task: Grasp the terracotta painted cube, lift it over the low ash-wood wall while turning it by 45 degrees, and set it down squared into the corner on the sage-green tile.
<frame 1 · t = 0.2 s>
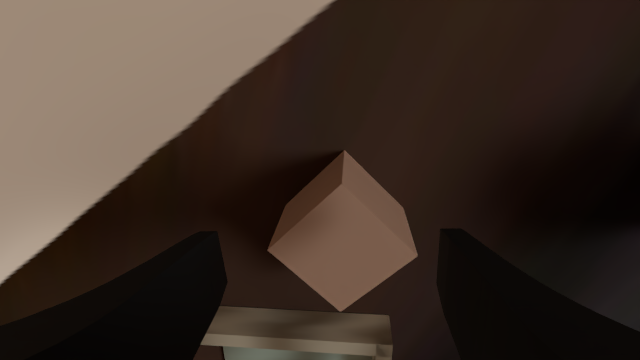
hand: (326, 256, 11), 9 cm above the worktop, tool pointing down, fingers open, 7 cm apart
terracotta cube: (343, 205, 21), on the worktop
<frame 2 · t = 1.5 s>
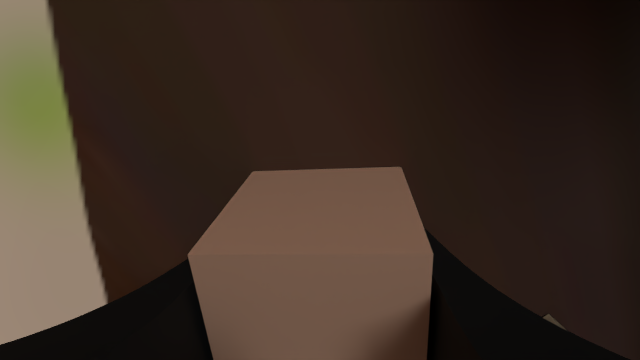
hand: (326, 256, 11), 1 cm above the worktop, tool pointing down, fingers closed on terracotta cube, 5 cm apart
terracotta cube: (329, 233, 12), on the worktop, touching gripper
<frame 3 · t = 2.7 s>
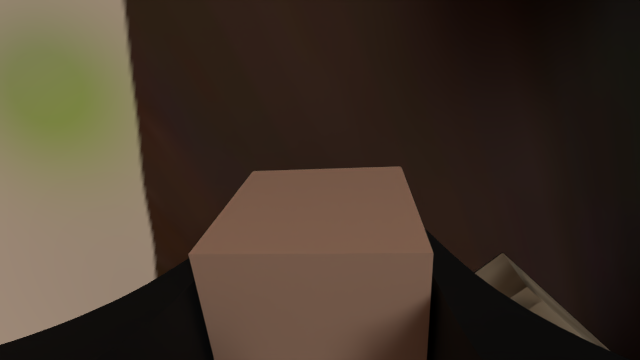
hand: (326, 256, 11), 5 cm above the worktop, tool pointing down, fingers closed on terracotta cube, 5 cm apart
terracotta cube: (329, 233, 12), point 4 cm above the worktop, touching gripper
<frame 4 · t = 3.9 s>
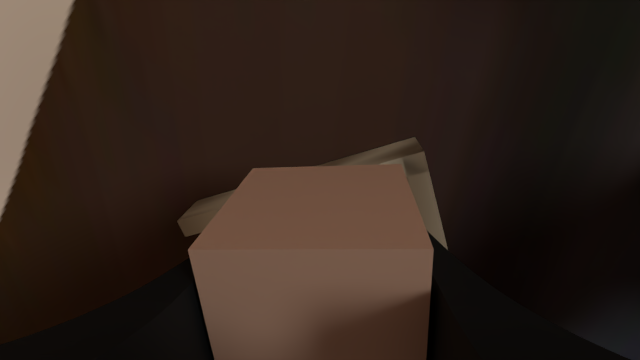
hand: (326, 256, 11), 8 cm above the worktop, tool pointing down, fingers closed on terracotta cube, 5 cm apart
terracotta cube: (329, 231, 12), point 7 cm above the worktop, touching gripper
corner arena: (339, 256, 21), on the worktop
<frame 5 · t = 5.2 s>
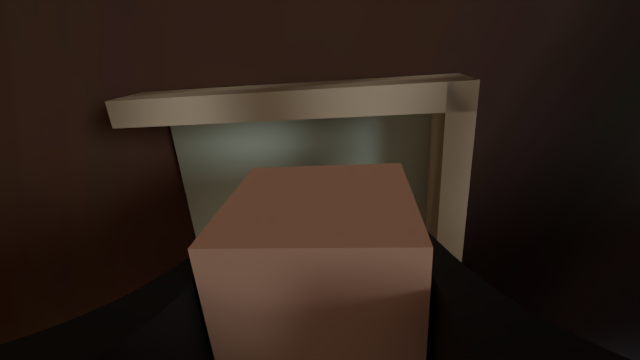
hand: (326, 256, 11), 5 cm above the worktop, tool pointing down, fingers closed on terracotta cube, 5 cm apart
terracotta cube: (329, 230, 12), point 3 cm above the worktop, touching gripper
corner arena: (315, 213, 16), on the worktop
when the fingers open (3 cm above the worktop, at t = 6.1 s): terracotta cube drops 2 cm, resting on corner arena.
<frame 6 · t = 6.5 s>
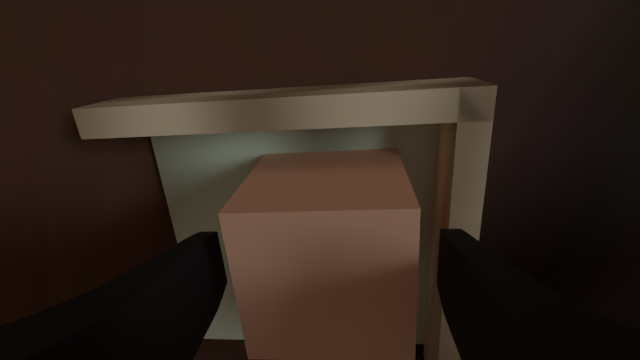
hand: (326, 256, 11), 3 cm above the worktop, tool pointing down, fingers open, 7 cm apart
terracotta cube: (333, 210, 14), resting on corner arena
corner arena: (311, 230, 15), on the worktop
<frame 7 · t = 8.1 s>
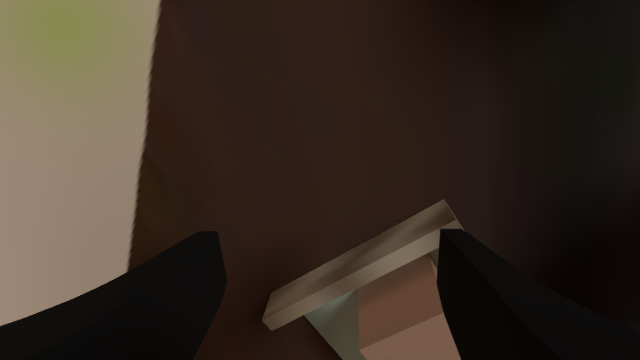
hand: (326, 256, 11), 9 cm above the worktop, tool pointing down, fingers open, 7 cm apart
terracotta cube: (412, 296, 22), resting on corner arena
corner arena: (406, 311, 23), on the worktop
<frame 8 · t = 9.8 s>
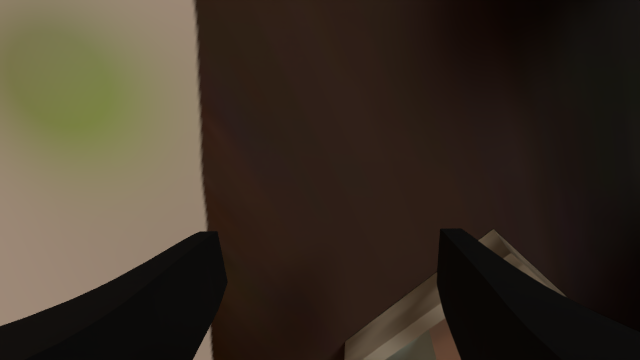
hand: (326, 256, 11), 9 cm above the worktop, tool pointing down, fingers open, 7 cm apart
terracotta cube: (481, 323, 23), resting on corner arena
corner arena: (478, 337, 24), on the worktop
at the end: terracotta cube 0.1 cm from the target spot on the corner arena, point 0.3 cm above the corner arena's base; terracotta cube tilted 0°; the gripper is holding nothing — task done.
